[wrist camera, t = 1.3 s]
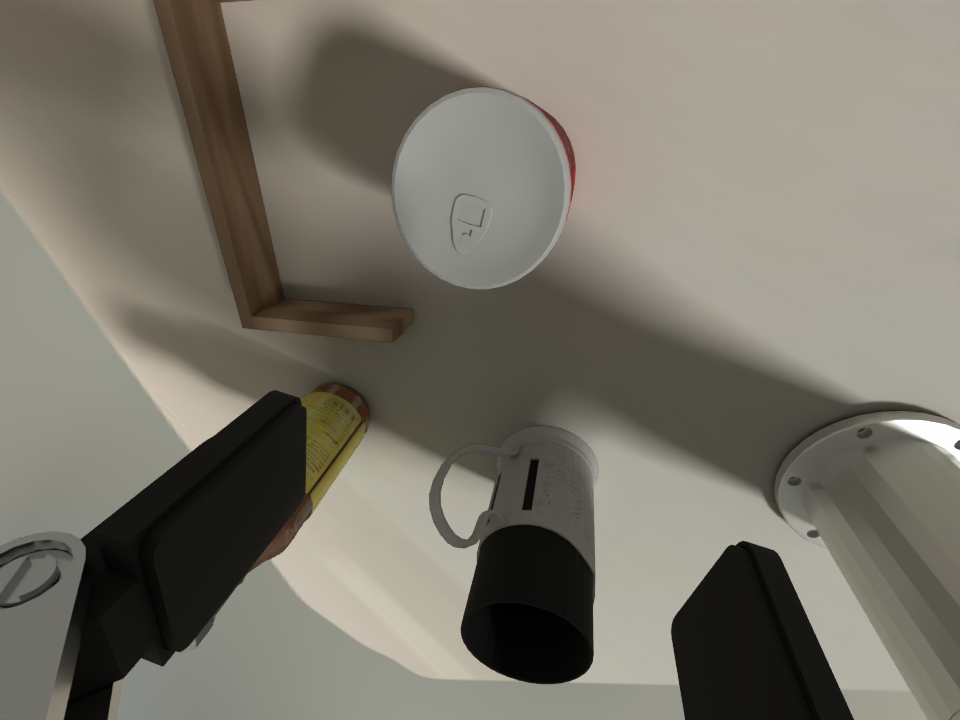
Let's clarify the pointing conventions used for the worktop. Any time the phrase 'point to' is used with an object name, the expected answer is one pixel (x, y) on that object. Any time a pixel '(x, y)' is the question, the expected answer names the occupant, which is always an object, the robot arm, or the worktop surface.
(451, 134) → the canned food
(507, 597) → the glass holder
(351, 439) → the sauce bottle
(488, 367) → the worktop surface
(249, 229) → the wooden corner frame
